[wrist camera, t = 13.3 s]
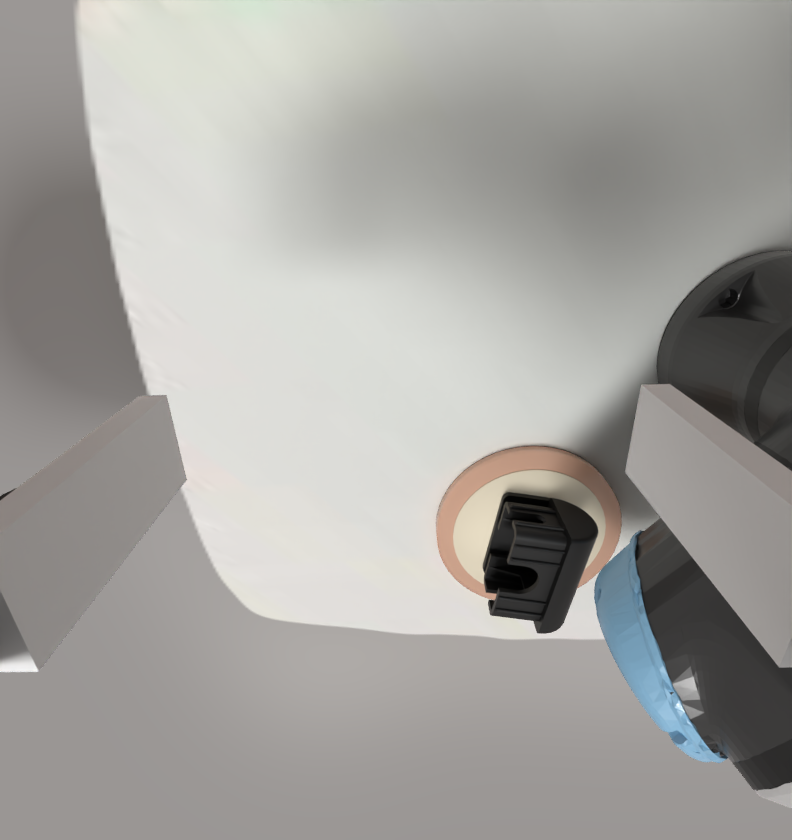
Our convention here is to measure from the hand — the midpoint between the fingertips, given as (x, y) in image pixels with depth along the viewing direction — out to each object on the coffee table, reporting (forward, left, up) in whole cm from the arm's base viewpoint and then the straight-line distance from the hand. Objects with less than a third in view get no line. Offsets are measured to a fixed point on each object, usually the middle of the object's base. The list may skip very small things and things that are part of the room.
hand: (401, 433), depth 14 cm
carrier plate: (-11, +23, -27) cm, 37 cm away
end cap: (-11, +23, -25) cm, 36 cm away
